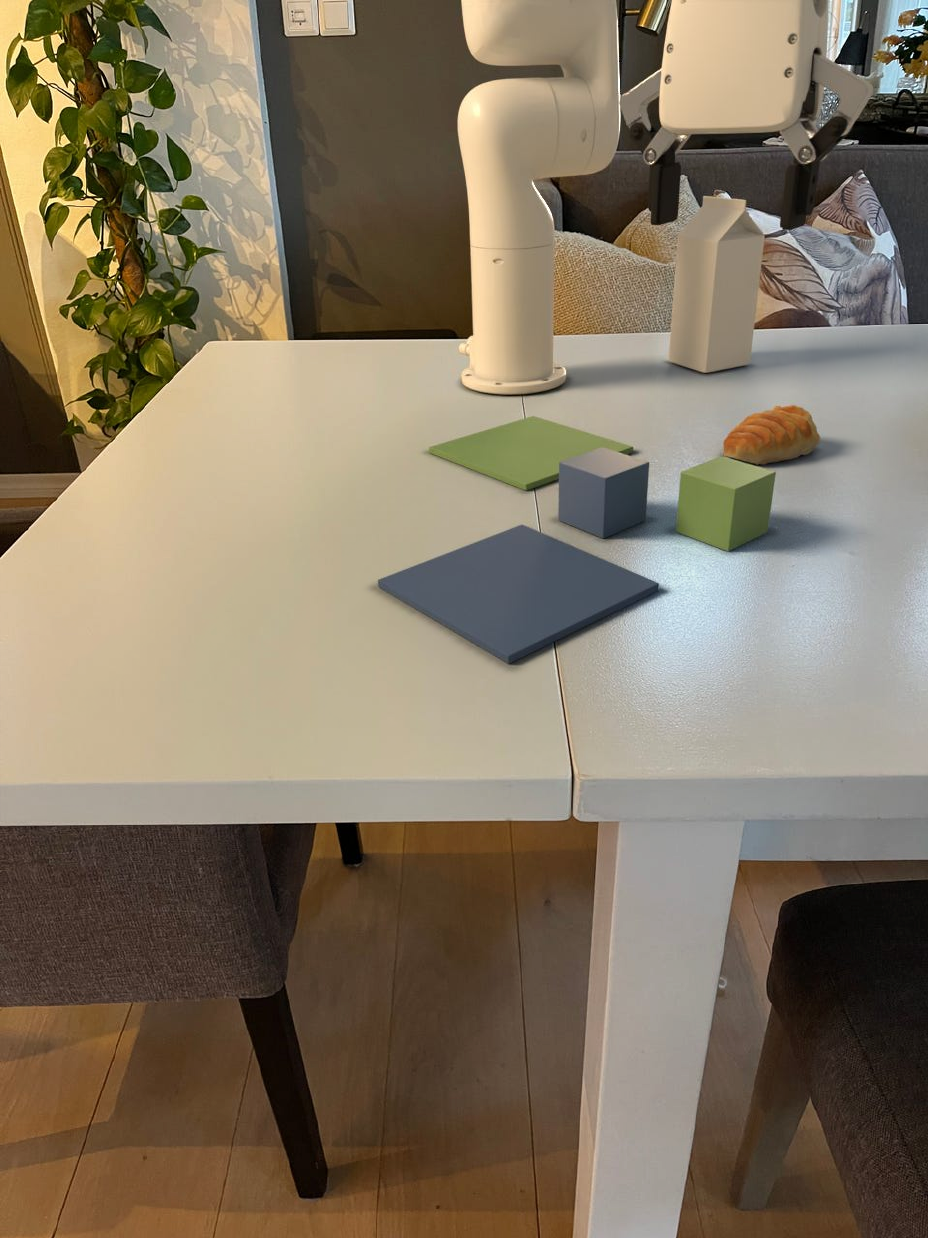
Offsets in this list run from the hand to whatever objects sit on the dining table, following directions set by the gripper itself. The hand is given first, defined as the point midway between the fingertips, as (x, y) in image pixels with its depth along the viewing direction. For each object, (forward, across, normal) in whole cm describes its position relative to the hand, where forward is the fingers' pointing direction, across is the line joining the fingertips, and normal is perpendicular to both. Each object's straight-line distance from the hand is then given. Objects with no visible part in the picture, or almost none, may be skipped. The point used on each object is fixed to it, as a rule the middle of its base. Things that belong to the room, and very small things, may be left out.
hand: (725, 225), depth 66 cm
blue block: (+22, +5, +7) cm, 23 cm away
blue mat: (+22, +5, +20) cm, 30 cm away
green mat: (+21, +19, -4) cm, 29 cm away
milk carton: (+21, +18, -42) cm, 51 cm away
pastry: (+22, 0, -16) cm, 27 cm away
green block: (+22, -4, +4) cm, 22 cm away
